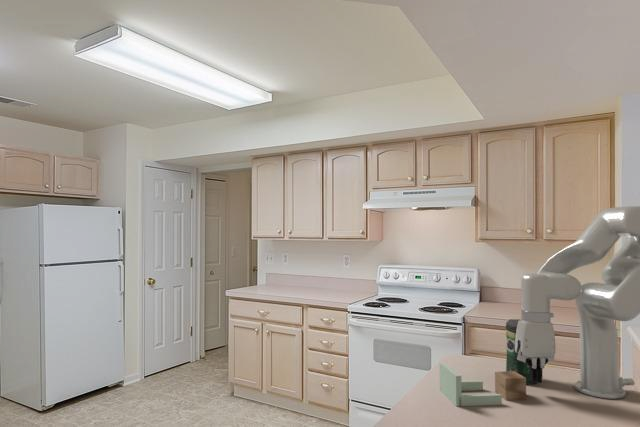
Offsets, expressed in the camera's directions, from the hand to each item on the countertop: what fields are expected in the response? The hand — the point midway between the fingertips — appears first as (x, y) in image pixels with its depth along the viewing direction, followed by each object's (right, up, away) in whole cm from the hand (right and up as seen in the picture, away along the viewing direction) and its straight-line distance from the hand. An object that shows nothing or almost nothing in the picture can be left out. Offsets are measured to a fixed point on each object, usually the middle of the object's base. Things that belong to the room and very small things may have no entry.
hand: (535, 381), depth 127 cm
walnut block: (-8, -4, -1) cm, 9 cm away
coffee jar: (+2, -5, +13) cm, 14 cm away
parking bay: (-20, -4, -2) cm, 20 cm away
